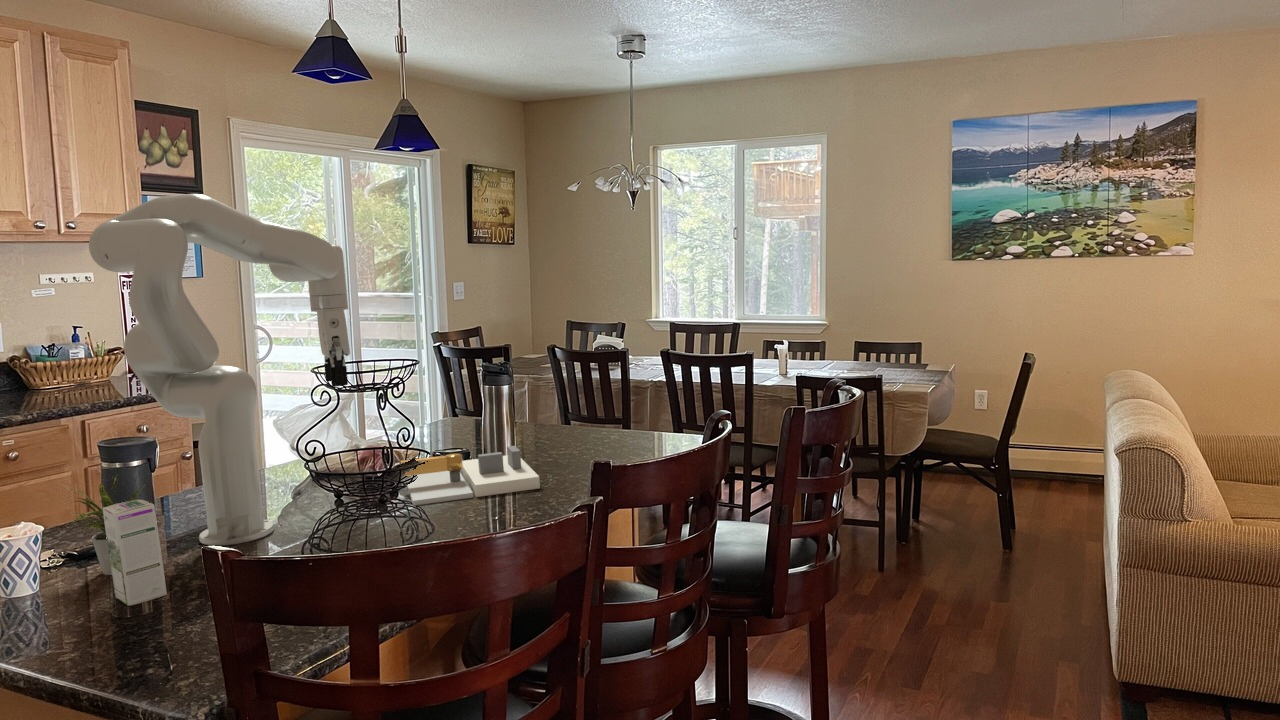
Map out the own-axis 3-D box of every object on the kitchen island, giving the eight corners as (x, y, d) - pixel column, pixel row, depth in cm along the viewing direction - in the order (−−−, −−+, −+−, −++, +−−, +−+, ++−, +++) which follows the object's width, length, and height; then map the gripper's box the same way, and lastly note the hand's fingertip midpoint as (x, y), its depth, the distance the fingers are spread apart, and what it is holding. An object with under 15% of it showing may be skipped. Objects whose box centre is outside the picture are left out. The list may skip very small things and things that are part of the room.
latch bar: (461, 466, 194) (460, 452, 193) (464, 469, 190) (462, 456, 190) (401, 473, 190) (400, 460, 189) (402, 477, 186) (401, 463, 186)
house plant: (56, 571, 149) (43, 476, 147) (146, 549, 158) (135, 459, 156) (78, 591, 138) (65, 489, 137) (173, 565, 148) (161, 470, 146)
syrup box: (168, 594, 135) (157, 502, 133) (126, 607, 131) (114, 512, 129) (154, 586, 139) (143, 497, 137) (112, 599, 134) (100, 506, 133)
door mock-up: (540, 488, 186) (538, 458, 185) (413, 505, 177) (410, 474, 177) (517, 464, 208) (515, 437, 207) (404, 478, 200) (401, 450, 199)
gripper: (353, 303, 181) (361, 385, 184) (341, 301, 197) (348, 377, 199) (315, 306, 178) (323, 389, 180) (306, 303, 194) (313, 380, 196)
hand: (336, 383), depth 190 cm, fingers open, 9 cm apart
